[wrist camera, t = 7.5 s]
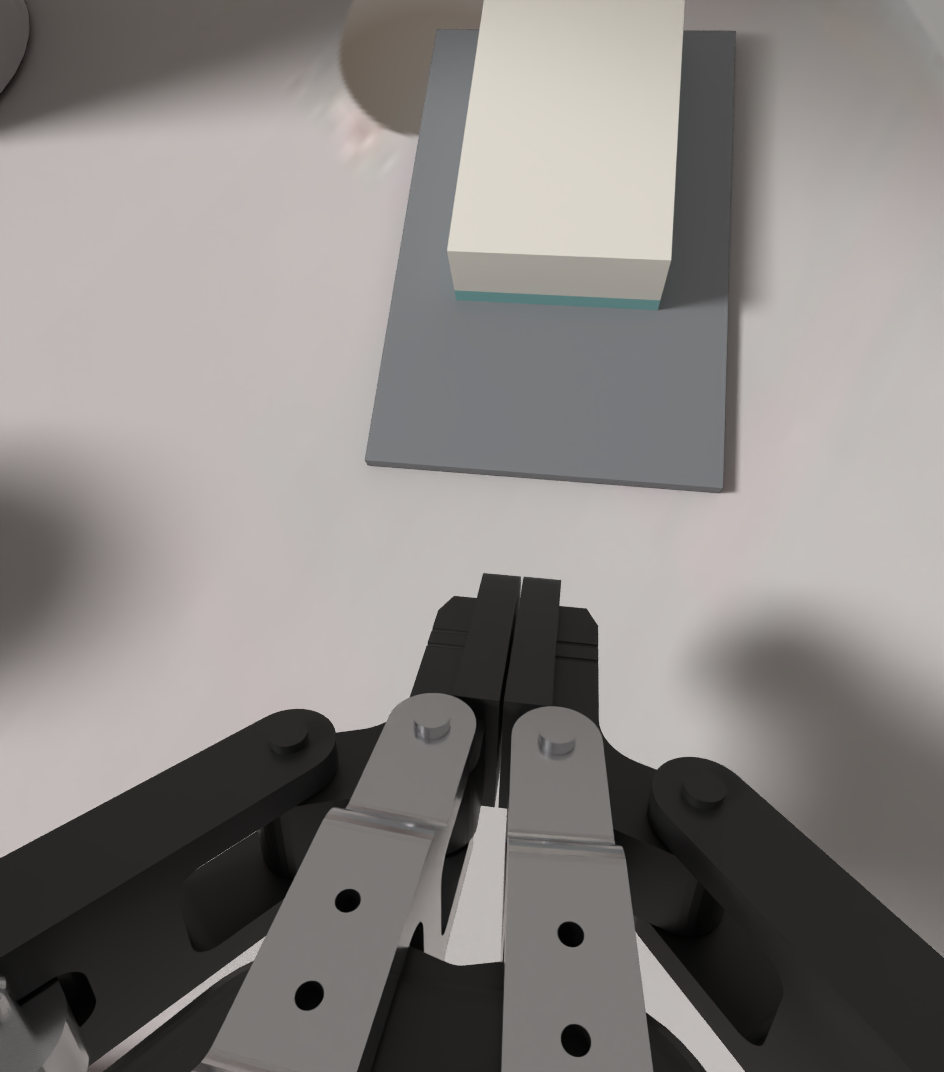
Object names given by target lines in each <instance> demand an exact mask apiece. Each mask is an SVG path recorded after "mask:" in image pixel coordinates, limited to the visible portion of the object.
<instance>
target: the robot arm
mask: <svg viewBox="0 0 944 1072" xmlns="http://www.w3.org/2000/svg"><path fill="white" fill-rule="evenodd" d="M28 37H29V13H28V10H27V7H26V4H25V1H24V0H0V93H1V92H2V91H3V89H4V88H5V86H6V85H7V84H8V82H9V81H10V80H11V78H12V77H13V76H14V74H15V72H16V70H17V68H18V66H19V64H20V62H21V60H22V58H23V56H24V54H25V50H26V45H27V41H28ZM560 588H561V580H554V579H543V578H532V577H524V578H523V584H522V590H521V577H520V576H509V575H498V574H487V573H484V574H483V576H482V580H481V584H480V588H479V592H478V596H477V598H470V597H459V596H454V597H452V598H451V599H450V600H449V601H448V602H447V603H446V604H445V605H444V606H443V607H441V608H440V609H439V610H438V613H437V616H436V619H435V622H434V625H433V629H432V631H431V634H430V637H429V640H428V646H426V650H425V653H424V656H423V659H422V662H421V665H420V668H419V671H418V674H417V677H416V680H415V683H414V686H413V689H412V692H411V695H410V698H408V699H406V700H404V701H402V702H401V703H400V704H398V705H397V706H396V707H395V708H394V709H393V710H392V712H391V714H390V715H389V718H388V720H387V722H385V723H383V724H381V725H378V726H375V727H371V728H367V729H361V730H354V731H346V732H338V733H336V732H335V728H334V726H333V724H332V723H331V722H330V721H329V719H328V718H326V717H325V716H324V715H322V714H320V713H318V712H315V711H311V710H306V709H290V710H284V711H280V712H277V713H274V714H271V715H269V716H267V717H265V718H263V719H261V720H259V721H257V722H255V723H254V724H252V725H250V726H248V727H246V728H244V729H242V730H240V731H239V732H237V733H235V734H233V735H231V736H229V737H227V738H225V739H223V740H222V741H220V742H218V743H216V744H214V745H212V746H210V747H208V748H207V749H205V750H203V751H201V752H199V753H197V754H195V755H193V756H192V757H190V758H188V759H186V760H184V761H182V762H180V763H178V764H177V765H175V766H173V767H171V768H169V769H167V770H165V771H163V772H161V773H160V774H158V775H156V776H154V777H152V778H150V779H148V780H146V781H145V782H143V783H141V784H139V785H137V786H135V787H133V788H131V789H130V790H128V791H126V792H124V793H122V794H120V795H118V796H116V797H114V798H113V799H111V800H109V801H107V802H105V803H103V804H101V805H99V806H98V807H96V808H94V809H92V810H90V811H88V812H86V813H84V814H83V815H81V816H79V817H77V818H75V819H73V820H71V821H69V822H68V823H66V824H64V825H62V826H60V827H58V828H56V829H54V830H52V831H51V832H49V833H47V834H45V835H43V836H41V837H39V838H37V839H36V840H34V841H32V842H30V843H28V844H26V845H24V846H22V847H21V848H19V849H17V850H15V851H13V852H11V853H9V854H7V855H5V856H4V857H2V858H0V1072H87V1070H88V1066H90V1065H91V1064H92V1063H94V1062H95V1061H96V1060H98V1059H99V1058H101V1057H102V1056H103V1055H105V1054H106V1053H107V1052H109V1051H110V1050H111V1049H113V1048H114V1047H115V1046H117V1045H118V1044H120V1043H121V1042H122V1041H124V1040H125V1039H126V1038H128V1037H129V1036H130V1035H132V1034H133V1033H134V1032H136V1031H137V1030H139V1029H140V1028H141V1027H143V1026H144V1025H145V1024H147V1023H148V1022H149V1021H151V1020H152V1019H153V1018H155V1017H156V1016H158V1015H159V1014H160V1013H162V1012H163V1011H164V1010H166V1009H167V1008H168V1007H170V1006H171V1005H172V1004H174V1003H175V1002H177V1001H178V1000H179V999H181V998H182V997H183V996H185V995H186V994H187V993H189V992H190V991H191V990H193V989H194V988H196V987H197V986H198V985H200V984H201V983H202V982H204V981H205V980H206V979H208V978H209V977H211V976H212V975H213V974H215V973H216V972H217V971H219V970H220V969H221V968H223V967H224V966H225V965H227V964H228V963H230V962H231V961H232V960H234V959H235V958H236V957H238V956H239V955H240V954H242V953H243V952H244V951H246V950H247V949H249V948H250V947H251V946H253V945H254V944H255V943H257V942H258V941H259V940H261V939H262V938H263V937H265V936H266V937H265V939H264V941H263V943H262V945H261V947H260V949H259V952H258V954H257V956H256V958H255V960H254V961H252V962H250V963H248V964H246V965H244V966H242V967H240V968H238V969H237V970H235V971H233V972H232V973H230V974H229V975H227V976H225V977H224V978H222V979H221V980H219V981H218V982H217V983H215V984H214V985H212V986H211V987H210V988H209V989H207V990H206V991H205V992H203V993H202V994H201V995H200V996H198V997H197V998H196V999H195V1000H193V1001H192V1002H191V1003H190V1004H188V1005H187V1006H186V1007H184V1008H183V1009H182V1010H181V1011H179V1012H178V1013H177V1014H176V1015H174V1016H173V1017H172V1018H171V1019H169V1020H168V1021H167V1022H165V1023H164V1024H163V1025H162V1026H160V1027H159V1028H158V1029H157V1030H155V1031H154V1032H153V1033H152V1034H150V1035H149V1036H148V1037H146V1038H145V1039H144V1040H143V1041H141V1042H140V1043H139V1044H138V1045H136V1046H135V1047H134V1048H133V1049H131V1050H130V1051H129V1052H127V1053H126V1054H125V1055H124V1056H122V1057H121V1058H120V1059H119V1060H117V1061H116V1062H115V1063H114V1064H112V1065H111V1066H110V1067H108V1068H107V1069H106V1070H105V1071H103V1072H706V1070H705V1069H704V1068H703V1066H702V1065H701V1064H700V1062H699V1061H698V1060H697V1059H696V1058H695V1056H694V1055H693V1054H692V1053H691V1052H690V1051H689V1050H688V1049H687V1047H686V1046H685V1045H684V1044H683V1043H682V1042H681V1041H680V1040H679V1039H678V1038H677V1037H676V1036H675V1035H673V1034H672V1033H671V1032H670V1031H669V1030H668V1029H667V1028H666V1027H665V1026H663V1025H662V1024H661V1023H659V1022H658V1021H657V1020H655V1019H654V1018H653V1017H651V1016H650V1015H649V1014H647V1013H646V1011H645V1004H644V996H643V988H642V981H641V973H640V965H639V957H638V950H637V942H636V934H635V931H636V933H637V934H638V936H639V937H640V938H641V940H642V941H643V942H644V943H645V945H646V946H647V947H648V949H649V950H650V951H651V952H652V954H653V955H654V956H655V957H656V959H657V960H658V961H659V963H660V964H661V965H662V966H663V968H664V969H665V970H666V971H667V973H668V974H669V975H670V977H671V978H672V979H673V980H674V982H675V983H676V984H677V985H678V987H679V988H680V989H681V990H682V992H683V993H684V994H685V996H686V997H687V998H688V999H689V1001H690V1002H691V1003H692V1004H693V1006H694V1007H695V1008H696V1010H697V1011H698V1012H699V1013H700V1015H701V1016H702V1017H703V1018H704V1020H705V1021H706V1022H707V1024H708V1025H709V1026H710V1027H711V1029H712V1030H713V1031H714V1032H715V1034H716V1035H717V1036H718V1038H719V1039H720V1040H721V1041H722V1043H723V1044H724V1045H725V1046H726V1048H727V1049H728V1050H729V1051H730V1053H731V1054H732V1055H733V1057H734V1058H735V1059H736V1060H737V1062H738V1063H739V1064H740V1065H741V1067H742V1068H743V1069H744V1071H745V1072H944V958H943V957H942V956H941V955H940V954H939V953H938V952H936V951H935V950H934V949H933V948H932V947H931V946H930V945H929V944H927V943H926V942H925V941H924V940H923V939H922V938H921V937H919V936H918V935H917V934H916V933H915V932H914V931H913V930H912V929H910V928H909V927H908V926H907V925H906V924H905V923H904V922H903V921H901V920H900V919H899V918H898V917H897V916H896V915H895V914H893V913H892V912H891V911H890V910H889V909H888V908H887V907H886V906H884V905H883V904H882V903H881V902H880V901H879V900H878V899H876V898H875V897H874V896H873V895H872V894H871V893H870V892H869V891H867V890H866V889H865V888H864V887H863V886H862V885H861V884H860V883H858V882H857V881H856V880H855V879H854V878H853V877H852V876H850V875H849V874H848V873H847V872H846V871H845V870H844V869H843V868H841V867H840V866H839V865H838V864H837V863H836V862H835V861H833V860H832V859H831V858H830V857H829V856H828V855H827V854H826V853H824V852H823V851H822V850H821V849H820V848H819V847H818V846H817V845H815V844H814V843H813V842H812V841H811V840H810V839H809V838H807V837H806V836H805V835H804V834H803V833H802V832H801V831H800V830H798V829H797V828H796V827H795V826H794V825H793V824H792V823H790V822H789V821H788V820H787V819H786V818H785V817H784V816H783V815H781V814H780V813H779V812H778V811H777V810H776V809H775V808H774V807H772V806H771V805H770V804H769V803H768V802H767V801H766V800H764V799H763V798H762V797H761V796H760V795H759V794H758V793H757V792H755V791H754V790H753V789H752V788H751V787H750V786H749V785H748V784H746V783H745V782H744V781H743V780H742V779H741V778H740V777H738V776H737V775H736V774H735V773H733V772H732V771H731V770H729V769H728V768H726V767H724V766H723V765H720V764H718V763H716V762H713V761H710V760H707V759H703V758H697V757H681V758H676V759H673V760H670V761H668V762H666V763H664V764H663V765H662V766H660V767H659V768H658V770H656V769H653V768H651V767H648V766H645V765H643V764H640V763H638V762H635V761H633V760H631V759H629V758H627V757H625V756H624V755H622V754H621V753H619V752H618V751H617V750H615V749H614V748H613V747H612V746H611V745H610V744H609V743H608V741H607V740H606V739H605V737H604V736H603V734H602V732H601V729H600V726H599V695H598V625H597V624H596V622H595V621H594V619H593V618H592V616H591V615H590V613H589V611H588V610H587V609H585V608H574V607H564V606H559V601H560ZM520 590H521V597H520ZM499 773H500V787H499V807H498V808H506V809H507V823H506V839H505V858H504V885H503V911H502V938H501V962H494V963H484V964H475V965H466V966H457V965H452V964H449V963H447V962H445V961H444V958H445V953H446V949H447V945H448V941H449V937H450V933H451V929H452V925H453V922H454V918H455V914H456V910H457V906H458V902H459V899H460V895H461V891H462V887H463V883H464V879H465V876H466V872H467V868H468V864H469V860H470V856H471V853H472V848H473V836H474V834H475V832H476V828H477V825H478V819H479V813H480V807H481V806H489V807H495V800H496V793H497V787H498V780H499ZM257 830H258V831H257ZM255 831H256V832H255ZM254 832H255V833H254ZM252 833H253V834H252ZM251 834H252V835H251ZM249 835H250V836H249ZM248 836H249V837H248ZM246 837H247V838H246ZM244 838H245V839H244ZM243 839H244V840H243ZM241 840H242V841H241ZM240 841H241V842H240ZM238 842H239V843H238ZM235 844H236V845H235ZM233 845H234V846H233ZM232 846H233V847H232ZM230 847H231V848H230ZM229 848H230V849H229ZM227 849H228V850H227ZM225 850H226V851H225ZM224 851H225V852H224ZM222 852H223V853H222ZM221 853H222V854H221ZM219 854H220V855H219ZM218 855H219V856H218ZM216 856H217V857H216ZM214 857H215V858H214ZM213 858H214V859H213ZM211 859H212V860H211ZM210 860H211V861H210ZM208 861H209V862H208ZM205 863H206V864H205ZM203 864H204V865H203ZM202 865H203V866H202ZM200 866H201V867H200ZM199 867H200V868H199ZM197 868H198V869H197Z"/></svg>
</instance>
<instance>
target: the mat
mask: <svg viewBox="0 0 944 1072" xmlns="http://www.w3.org/2000/svg"><path fill="white" fill-rule="evenodd" d="M735 35H736V31H683V43H682V62H681V81H680V100H679V120H678V139H677V158H676V177H675V196H674V215H673V235H672V254H671V263H670V267H669V270H668V274H667V278H666V281H665V285H664V289H663V292H662V296H661V300H660V303H659V307H658V310H642V309H622V308H602V307H582V306H562V305H542V304H522V303H502V302H482V301H462V300H456V296H455V291H454V286H453V280H452V275H451V270H450V265H449V259H448V254H447V247H448V240H449V233H450V227H451V220H452V213H453V206H454V200H455V193H456V186H457V179H458V172H459V166H460V159H461V152H462V145H463V138H464V132H465V125H466V118H467V111H468V104H469V98H470V91H471V84H472V77H473V71H474V64H475V57H476V50H477V43H478V37H479V30H477V29H475V30H474V29H473V30H472V29H465V30H464V29H437V31H436V37H435V44H434V50H433V56H432V62H431V67H430V73H429V80H428V85H427V91H426V97H425V103H424V109H423V115H422V121H421V127H420V133H419V139H418V145H417V151H416V157H415V163H414V169H413V175H412V181H411V187H410V193H409V199H408V205H407V211H406V217H405V223H404V229H403V235H402V241H401V247H400V253H399V259H398V265H397V270H396V276H395V282H394V288H393V294H392V300H391V306H390V312H389V318H388V324H387V330H386V336H385V342H384V348H383V354H382V360H381V366H380V372H379V378H378V384H377V390H376V396H375V402H374V408H373V414H372V420H371V426H370V432H369V438H368V444H367V450H366V456H365V461H366V463H367V465H371V466H383V467H396V468H409V469H422V470H434V471H447V472H460V473H472V474H485V475H498V476H511V477H523V478H536V479H549V480H561V481H574V482H587V483H599V484H612V485H625V486H638V487H650V488H663V489H676V490H688V491H701V492H714V493H720V492H721V490H722V489H723V469H724V433H725V397H726V361H727V325H728V288H729V252H730V216H731V180H732V143H733V107H734V71H735Z"/></svg>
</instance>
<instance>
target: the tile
mask: <svg viewBox="0 0 944 1072" xmlns="http://www.w3.org/2000/svg"><path fill="white" fill-rule="evenodd" d="M684 4H685V0H484V3H483V9H482V17H481V24H480V30H479V37H478V43H477V50H476V57H475V64H474V71H473V77H472V84H471V91H470V98H469V104H468V111H467V118H466V125H465V132H464V138H463V145H462V152H461V159H460V166H459V172H458V179H457V186H456V193H455V200H454V206H453V213H452V220H451V227H450V233H449V240H448V247H447V254H448V259H449V265H450V270H451V275H452V280H453V286H454V291H455V296H456V300H462V301H482V302H502V303H522V304H542V305H562V306H582V307H602V308H622V309H642V310H658V307H659V303H660V300H661V296H662V292H663V289H664V285H665V281H666V278H667V274H668V270H669V267H670V263H671V254H672V235H673V215H674V196H675V177H676V158H677V139H678V120H679V100H680V81H681V62H682V43H683V24H684Z"/></svg>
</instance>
